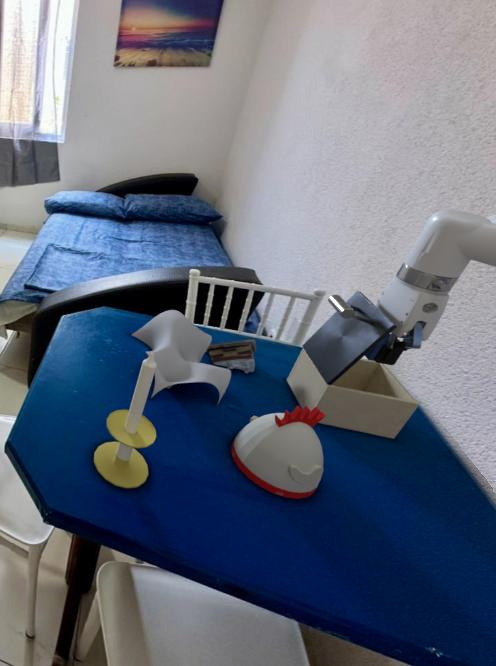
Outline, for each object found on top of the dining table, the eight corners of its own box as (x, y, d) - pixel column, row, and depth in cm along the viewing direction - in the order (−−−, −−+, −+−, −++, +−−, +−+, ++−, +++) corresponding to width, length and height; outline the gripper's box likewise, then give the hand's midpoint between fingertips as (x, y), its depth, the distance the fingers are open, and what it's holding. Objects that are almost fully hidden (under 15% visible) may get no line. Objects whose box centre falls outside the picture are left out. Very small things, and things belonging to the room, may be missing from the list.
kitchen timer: (334, 498, 72) (376, 440, 65) (258, 498, 71) (292, 439, 64) (283, 435, 84) (313, 380, 77) (217, 435, 84) (242, 379, 76)
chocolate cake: (203, 368, 103) (254, 354, 95) (200, 346, 108) (248, 330, 100) (223, 387, 106) (274, 374, 99) (219, 364, 111) (267, 351, 103)
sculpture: (233, 407, 91) (248, 374, 86) (146, 397, 93) (156, 364, 88) (197, 341, 112) (207, 311, 108) (127, 334, 114) (134, 305, 110)
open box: (361, 394, 96) (382, 361, 91) (394, 438, 84) (419, 404, 80) (286, 379, 99) (302, 347, 95) (308, 420, 88) (327, 386, 83)
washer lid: (361, 292, 86) (330, 279, 86) (398, 326, 74) (362, 311, 75) (305, 347, 94) (277, 335, 95) (330, 385, 83) (299, 372, 84)
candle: (151, 454, 79) (189, 343, 66) (144, 497, 71) (186, 380, 58) (99, 435, 83) (126, 326, 70) (88, 474, 75) (115, 358, 62)
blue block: (382, 351, 86) (393, 334, 84) (394, 364, 82) (406, 346, 80) (357, 347, 87) (367, 330, 85) (368, 360, 83) (379, 342, 81)
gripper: (484, 303, 67) (423, 386, 76) (421, 262, 82) (376, 336, 90) (430, 295, 69) (376, 377, 78) (377, 256, 83) (337, 329, 92)
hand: (376, 354), depth 84 cm, fingers closed on blue block, 4 cm apart
